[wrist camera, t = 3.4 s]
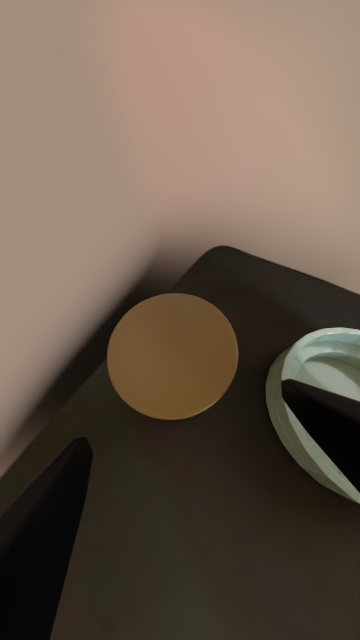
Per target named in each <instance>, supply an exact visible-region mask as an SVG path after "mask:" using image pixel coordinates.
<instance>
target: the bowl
mask: <svg viewBox="0 0 360 640" xmlns="http://www.w3.org/2000/svg"><path fill="white" fill-rule="evenodd" d="M286 379H294V380H297V381H300V382H303V383H306V384H309V385H312V386H315V387H318V388H321V389H324V390H327V391H330V392H333V393H336V394H339V395H342V396H345V397H348V398H351V399H354V400H357V401H360V330H356V329H350V328H342V327H339V328H324V329H320V330H317V331H315V332H312V333H309V334H306V335H305V336H304V337H302V338H301V339H300V340H298V341H297V342H296V343H294V344H293V345H292V346H290V347H289V348H288V349H286V350H285V351H284V352H282V353H281V354H280V355H278V357H277V358H276V360H275V361H274V363H273V364H272V366H271V367H270V370H269V374H268V377H267V381H266V403H267V407H268V411H269V414H270V418H271V422H272V424H273V426H274V428H275V430H276V432H277V434H278V436H279V438H280V440H281V442H282V443H283V445H284V446H285V448H286V449H287V450H288V452H289V453H290V454H291V455H292V457H293V458H294V459H295V461H296V462H297V463H298V464H299V465H300V466H301V467H302V468H303V469H304V470H305V471H306V472H307V473H309V474H310V475H311V476H312V477H313V478H314V479H315V480H317V481H318V482H319V483H320V484H321V485H323V486H325V487H327V488H328V489H330V490H332V491H334V492H335V493H337V494H339V495H341V496H343V497H344V498H346V499H348V500H350V501H352V502H354V503H356V504H358V505H360V493H359V492H358V491H357V490H356V488H355V487H354V486H353V485H352V484H351V483H350V482H349V480H348V479H347V478H346V477H345V476H344V475H343V473H342V472H341V471H340V470H339V469H338V468H337V467H336V465H335V464H334V463H333V462H332V461H331V460H330V458H329V457H328V456H327V455H326V454H325V453H324V452H323V450H322V449H321V448H320V447H319V446H318V445H317V443H316V442H315V441H314V440H313V439H312V438H311V436H310V435H309V434H308V433H307V432H306V430H305V429H304V428H303V426H302V425H301V423H300V422H299V421H298V419H297V418H296V417H295V415H294V414H293V412H292V411H291V410H290V408H289V407H288V406H287V404H286V403H285V401H284V400H283V398H282V392H281V381H282V380H286Z"/></svg>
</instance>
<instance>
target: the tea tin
mask: <svg viewBox="0 0 360 640" xmlns="http://www.w3.org/2000/svg"><path fill="white" fill-rule="evenodd" d="M237 364H238V344H237V339H236V336H235V333H234V331H233V328H232V326H231V324H230V323H229V321H228V320H227V318H226V317H225V316H224V315H223V313H222V312H221V311H220V310H219V309H217V308H216V307H215V306H214V305H212V304H211V303H209V302H207V301H206V300H203V299H201V298H199V297H196V296H193V295H188V294H181V293H169V294H162V295H158V296H155V297H152V298H149V299H147V300H144V301H143V302H141V303H139V304H137V305H136V306H135V307H133V308H132V309H131V310H129V311H128V312H127V313H126V314H125V315H124V317H123V318H122V319H121V320H120V321H119V323H118V324H117V326H116V328H115V329H114V331H113V333H112V336H111V339H110V342H109V346H108V352H107V367H108V372H109V376H110V379H111V382H112V384H113V386H114V388H115V390H116V392H117V393H118V394H119V396H120V397H121V398H122V399H123V400H124V401H125V402H126V403H127V404H128V405H129V406H130V407H132V408H133V409H135V410H136V411H138V412H140V413H142V414H144V415H147V416H150V417H153V418H158V419H163V420H178V419H189V418H192V417H195V416H197V415H198V414H200V413H202V412H203V411H205V410H206V409H208V408H209V407H211V406H212V405H213V404H215V403H216V402H217V401H218V400H219V399H220V398H221V397H222V396H223V395H224V393H225V392H226V391H227V389H228V388H229V386H230V384H231V382H232V380H233V378H234V376H235V373H236V369H237Z"/></svg>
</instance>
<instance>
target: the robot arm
mask: <svg viewBox="0 0 360 640" xmlns="http://www.w3.org/2000/svg"><path fill="white" fill-rule="evenodd" d="M281 392H282V398H283V400H284V401H285V403H286V404H287V406H288V407H289V408H290V410H291V411H292V412H293V414H294V415H295V417H296V418H297V419H298V421H299V422H300V423H301V425H302V426H303V428H304V429H305V430H306V432H307V433H308V434H309V435H310V436H311V438H312V439H313V440H314V441H315V442H316V443H317V445H318V446H319V447H320V448H321V449H322V450H323V452H324V453H325V454H326V455H327V456H328V457H329V458H330V460H331V461H332V462H333V463H334V464H335V465H336V467H337V468H338V469H339V470H340V471H341V472H342V473H343V475H344V476H345V477H346V478H347V479H348V480H349V482H350V483H351V484H352V485H353V486H354V487H355V488H356V490H357V491H358V492H359V493H360V401H357V400H354V399H351V398H348V397H345V396H342V395H339V394H336V393H333V392H330V391H327V390H324V389H321V388H318V387H315V386H312V385H309V384H306V383H303V382H300V381H297V380H294V379H286V380H282V381H281ZM92 458H93V452H92V449H91V446H90V444H89V442H88V440H87V438H86V437H81V438H77V439H75V440H74V441H73V442H72V443H71V444H70V445H69V446H68V447H67V448H66V449H65V450H64V451H63V452H62V453H61V454H60V455H59V456H58V457H57V458H56V459H55V460H54V461H53V462H52V463H51V464H50V466H49V467H48V468H47V469H46V470H45V471H44V472H43V473H42V474H41V475H40V476H39V477H38V478H37V479H36V480H35V481H34V482H33V483H32V484H31V485H30V486H29V487H28V488H27V489H26V491H25V492H24V493H23V494H22V495H21V496H20V497H19V498H18V499H17V500H16V501H15V502H14V503H13V504H12V505H11V506H10V507H9V508H8V509H7V510H6V511H5V512H4V513H3V514H2V516H1V517H0V640H50V636H51V632H52V628H53V624H54V620H55V616H56V612H57V609H58V605H59V601H60V597H61V593H62V589H63V585H64V581H65V577H66V574H67V570H68V566H69V562H70V558H71V554H72V550H73V546H74V542H75V539H76V535H77V531H78V527H79V523H80V519H81V515H82V511H83V507H84V503H85V498H86V493H87V487H88V481H89V475H90V470H91V464H92Z"/></svg>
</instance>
